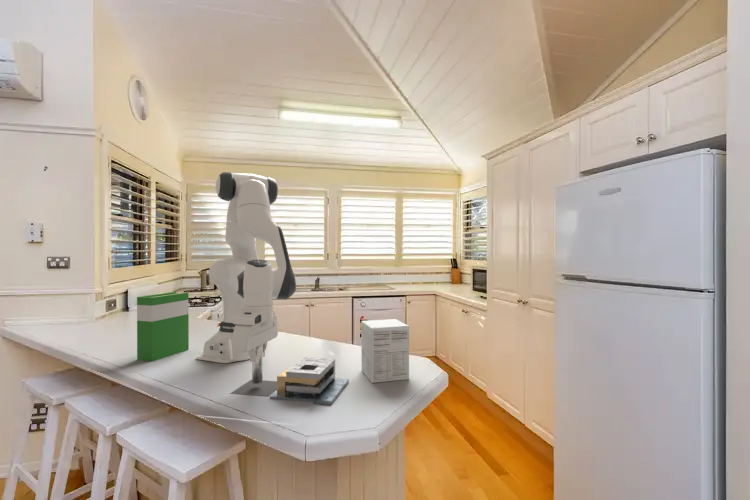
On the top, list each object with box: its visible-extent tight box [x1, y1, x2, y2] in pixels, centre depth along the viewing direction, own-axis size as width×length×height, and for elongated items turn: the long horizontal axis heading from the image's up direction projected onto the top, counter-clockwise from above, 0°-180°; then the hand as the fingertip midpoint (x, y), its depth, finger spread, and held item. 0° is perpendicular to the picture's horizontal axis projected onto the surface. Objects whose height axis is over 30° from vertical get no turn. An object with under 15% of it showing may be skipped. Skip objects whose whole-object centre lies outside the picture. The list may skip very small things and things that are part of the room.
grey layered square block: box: [269, 356, 350, 406], centre depth 114 cm, size 18×18×8 cm
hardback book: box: [136, 291, 190, 362], centre depth 152 cm, size 18×7×24 cm, turn 162°
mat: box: [229, 379, 277, 398], centre depth 115 cm, size 12×12×1 cm
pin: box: [251, 344, 264, 384], centre depth 115 cm, size 3×3×14 cm
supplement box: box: [360, 318, 410, 384], centre depth 128 cm, size 13×13×18 cm
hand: (257, 359), depth 115 cm, fingers closed on pin, 3 cm apart
